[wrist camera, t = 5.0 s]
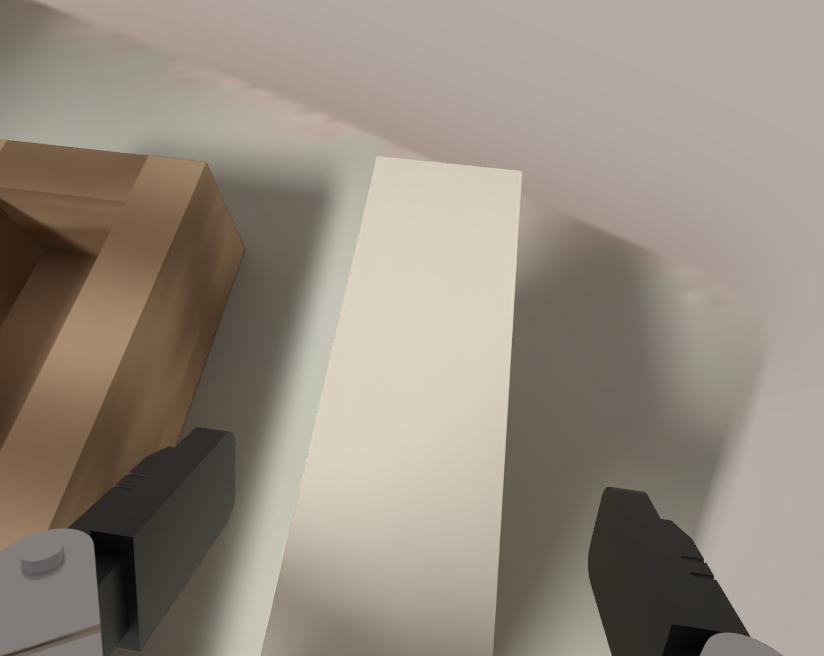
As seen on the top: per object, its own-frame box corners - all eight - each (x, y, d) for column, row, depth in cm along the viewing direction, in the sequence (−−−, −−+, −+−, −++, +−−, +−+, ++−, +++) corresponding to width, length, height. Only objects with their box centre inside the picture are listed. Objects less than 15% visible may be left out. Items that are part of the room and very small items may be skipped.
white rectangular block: (432, 780, 14) (469, 1053, 5) (321, 760, 14) (182, 994, 6) (472, 368, 20) (521, 171, 11) (391, 357, 20) (376, 155, 11)
